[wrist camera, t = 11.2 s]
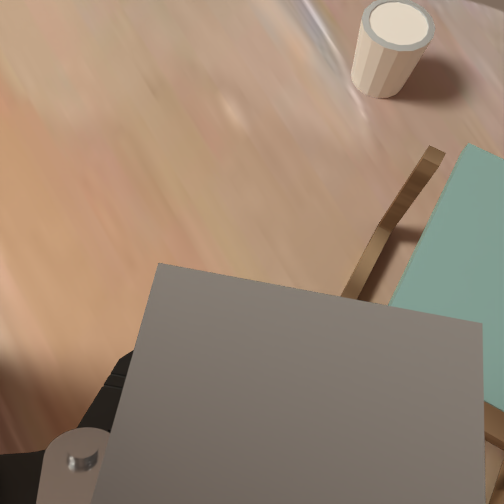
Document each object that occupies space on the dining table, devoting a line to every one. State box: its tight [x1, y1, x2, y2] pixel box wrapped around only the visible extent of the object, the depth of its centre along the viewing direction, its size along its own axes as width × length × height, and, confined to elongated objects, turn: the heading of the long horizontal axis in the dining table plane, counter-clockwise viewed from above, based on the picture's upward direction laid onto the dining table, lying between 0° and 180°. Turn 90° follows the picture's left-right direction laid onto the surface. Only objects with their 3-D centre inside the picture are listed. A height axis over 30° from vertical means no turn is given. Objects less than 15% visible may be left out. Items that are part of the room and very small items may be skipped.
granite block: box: [91, 263, 486, 504], centre depth 11 cm, size 5×5×10 cm
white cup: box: [351, 0, 435, 98], centre depth 47 cm, size 7×7×7 cm
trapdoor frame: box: [340, 145, 504, 504], centre depth 31 cm, size 17×18×17 cm
